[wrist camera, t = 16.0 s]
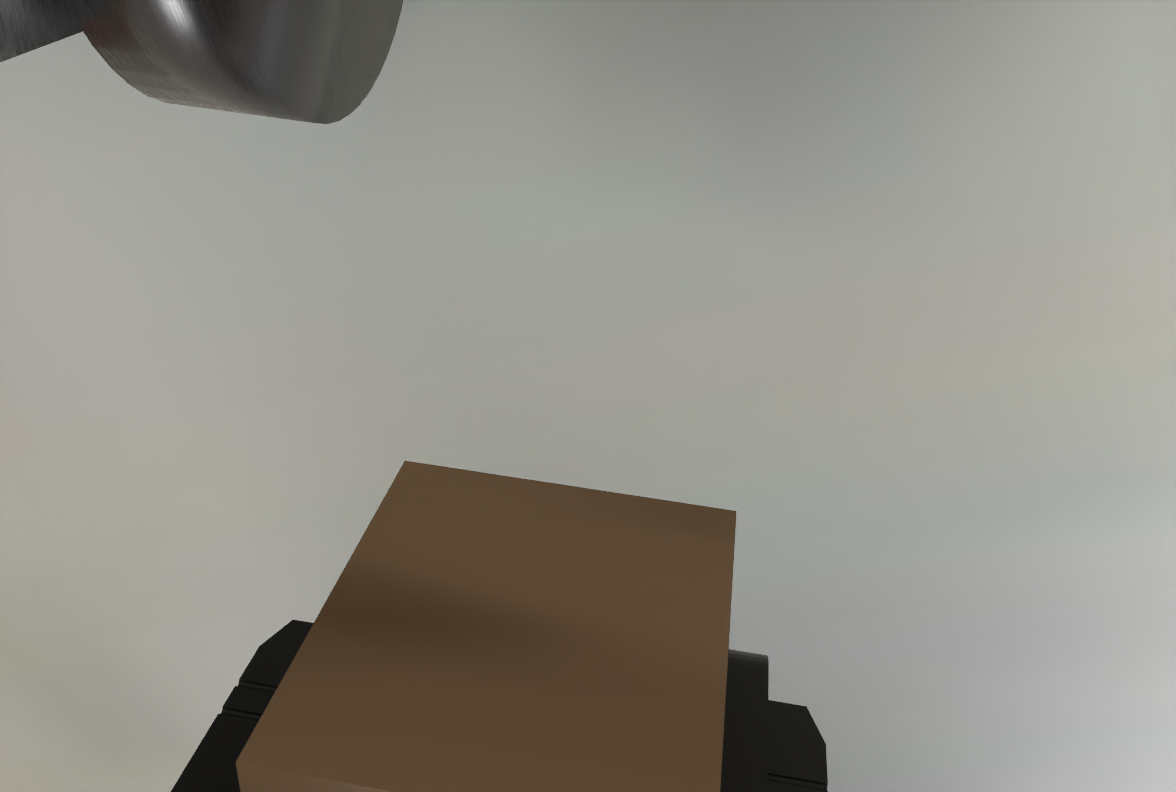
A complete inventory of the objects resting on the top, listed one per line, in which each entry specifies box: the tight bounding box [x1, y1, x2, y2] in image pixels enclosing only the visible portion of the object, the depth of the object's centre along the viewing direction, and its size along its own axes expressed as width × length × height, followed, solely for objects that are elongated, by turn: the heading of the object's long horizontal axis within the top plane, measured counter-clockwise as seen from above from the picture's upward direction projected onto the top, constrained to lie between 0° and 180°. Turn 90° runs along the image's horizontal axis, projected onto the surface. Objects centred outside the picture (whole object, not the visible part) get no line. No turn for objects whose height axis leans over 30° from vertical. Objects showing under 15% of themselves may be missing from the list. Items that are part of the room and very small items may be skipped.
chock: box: [236, 461, 736, 792], centre depth 11 cm, size 5×4×4 cm
